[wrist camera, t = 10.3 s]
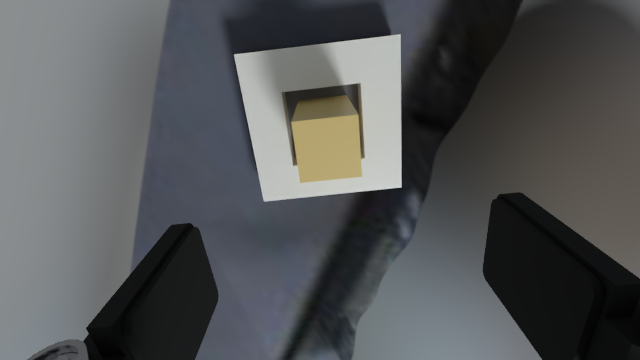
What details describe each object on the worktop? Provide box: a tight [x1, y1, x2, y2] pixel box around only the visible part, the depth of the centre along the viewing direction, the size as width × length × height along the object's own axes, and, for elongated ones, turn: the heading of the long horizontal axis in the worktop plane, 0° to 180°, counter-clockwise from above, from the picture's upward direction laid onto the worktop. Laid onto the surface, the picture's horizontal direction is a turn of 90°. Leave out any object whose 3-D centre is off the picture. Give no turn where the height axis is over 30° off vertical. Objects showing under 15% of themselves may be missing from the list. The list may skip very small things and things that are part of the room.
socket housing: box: [234, 34, 401, 201], centre depth 26 cm, size 12×12×2 cm
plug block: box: [291, 95, 362, 183], centre depth 23 cm, size 4×4×8 cm
